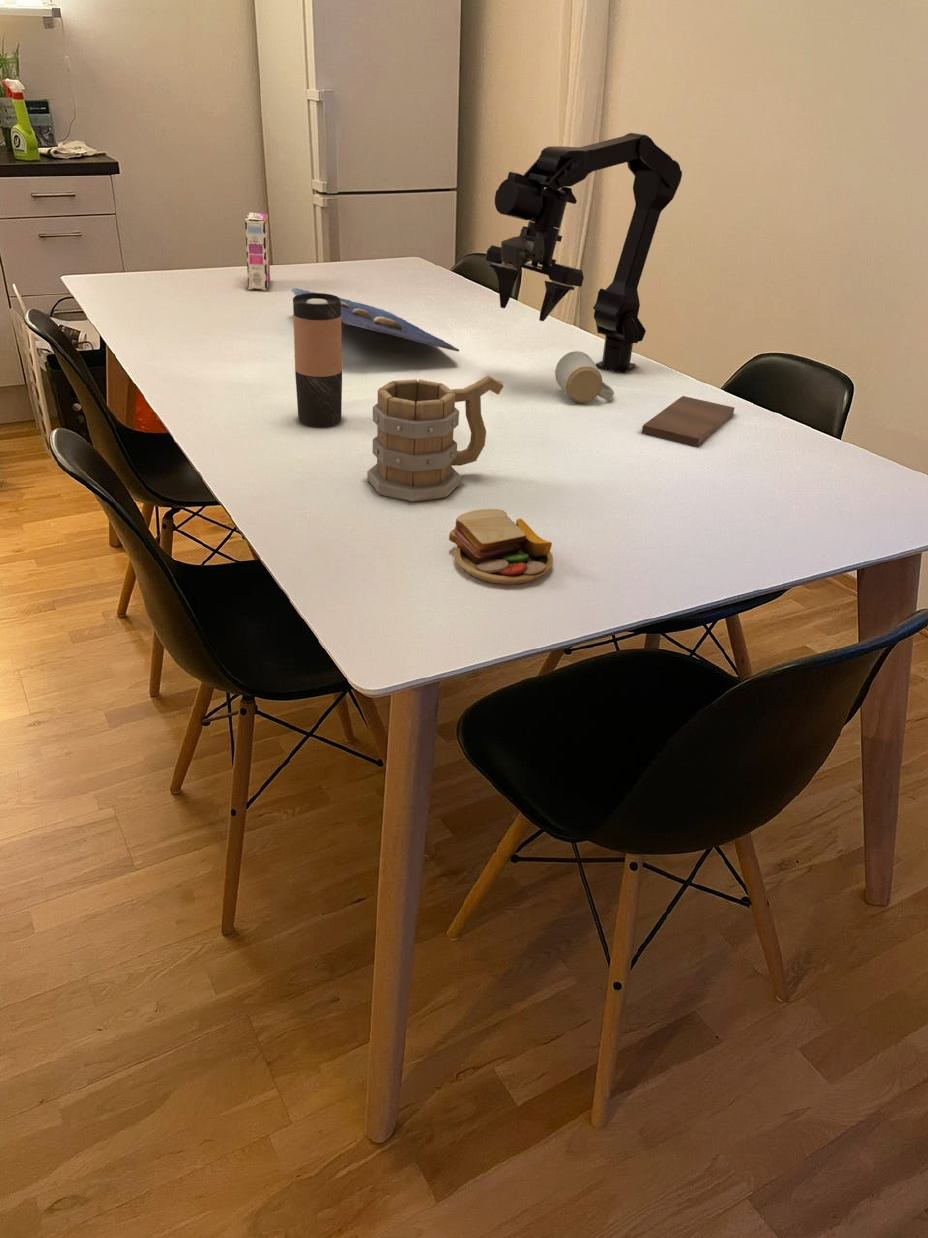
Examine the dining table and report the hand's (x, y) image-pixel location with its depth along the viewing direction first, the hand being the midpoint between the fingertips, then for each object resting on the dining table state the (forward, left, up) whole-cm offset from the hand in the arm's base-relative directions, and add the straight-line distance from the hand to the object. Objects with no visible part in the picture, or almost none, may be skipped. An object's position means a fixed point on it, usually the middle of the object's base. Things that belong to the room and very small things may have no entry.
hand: (521, 314), depth 175 cm
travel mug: (+39, -17, -14) cm, 44 cm away
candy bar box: (-27, -88, -14) cm, 93 cm away
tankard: (+48, +12, -14) cm, 51 cm away
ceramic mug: (-2, +13, -14) cm, 19 cm away
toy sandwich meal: (+65, +32, -14) cm, 74 cm away
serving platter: (-5, -40, -14) cm, 42 cm away
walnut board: (-1, +34, -13) cm, 37 cm away
